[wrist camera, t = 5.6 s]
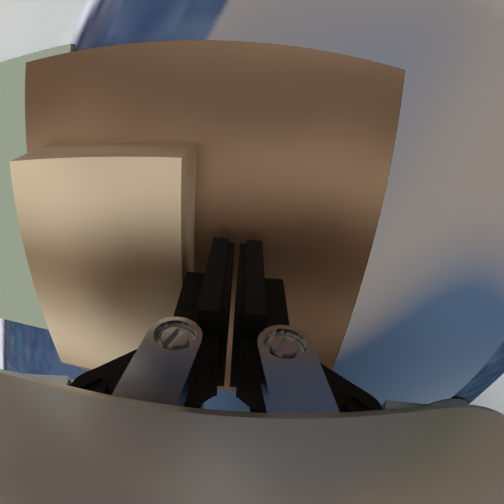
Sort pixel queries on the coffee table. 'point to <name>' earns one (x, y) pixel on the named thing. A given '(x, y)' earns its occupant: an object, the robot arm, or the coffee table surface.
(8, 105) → the rubber mat
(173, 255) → the maple tile
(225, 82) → the walnut board
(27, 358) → the coffee table surface
